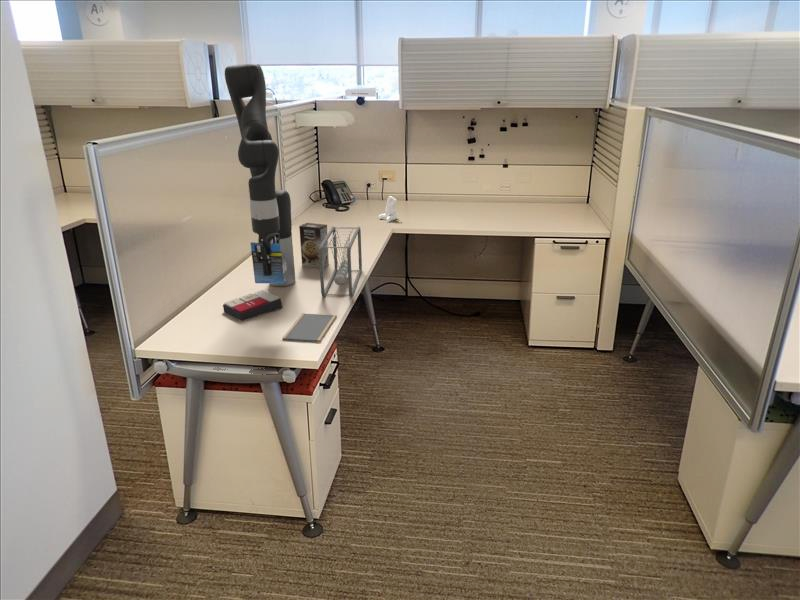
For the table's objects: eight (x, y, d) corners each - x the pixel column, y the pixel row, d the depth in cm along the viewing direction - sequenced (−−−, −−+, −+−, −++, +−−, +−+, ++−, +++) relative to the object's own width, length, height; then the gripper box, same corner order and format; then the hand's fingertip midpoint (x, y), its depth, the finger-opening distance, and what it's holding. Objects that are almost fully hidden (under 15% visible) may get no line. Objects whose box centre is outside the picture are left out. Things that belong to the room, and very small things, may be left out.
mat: (302, 315, 179) (302, 313, 179) (336, 317, 178) (336, 315, 178) (282, 340, 163) (282, 337, 163) (319, 342, 161) (319, 340, 161)
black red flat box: (221, 302, 181) (262, 287, 191) (224, 314, 183) (264, 299, 193) (239, 311, 174) (281, 296, 184) (242, 324, 176) (283, 308, 185)
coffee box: (301, 266, 225) (298, 226, 219) (309, 261, 230) (306, 222, 224) (322, 268, 222) (319, 227, 216) (329, 263, 227) (327, 223, 221)
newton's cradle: (335, 270, 220) (332, 224, 214) (362, 270, 220) (360, 224, 213) (321, 298, 193) (317, 247, 186) (352, 299, 192) (350, 248, 185)
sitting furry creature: (377, 218, 295) (376, 195, 291) (391, 216, 300) (390, 193, 296) (388, 222, 288) (387, 198, 284) (401, 219, 293) (401, 196, 288)
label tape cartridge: (288, 279, 168) (284, 239, 164) (284, 284, 165) (280, 243, 160) (259, 278, 169) (254, 238, 165) (254, 283, 166) (249, 242, 161)
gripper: (261, 208, 166) (267, 264, 173) (241, 220, 153) (248, 280, 160) (286, 209, 165) (291, 265, 172) (268, 221, 152) (274, 282, 159)
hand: (270, 272), depth 166 cm, fingers closed on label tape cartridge, 4 cm apart
